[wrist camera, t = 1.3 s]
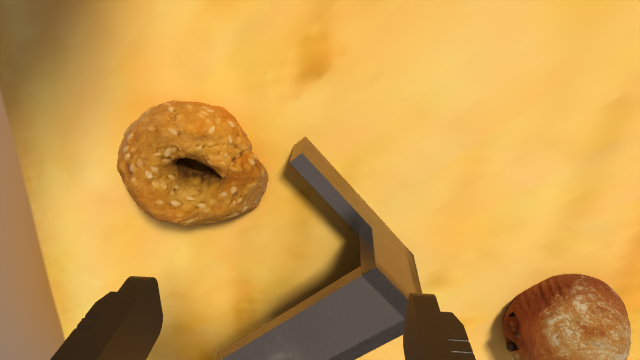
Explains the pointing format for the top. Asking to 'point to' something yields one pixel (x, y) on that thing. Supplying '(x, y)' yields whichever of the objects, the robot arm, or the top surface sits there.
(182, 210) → the bagel
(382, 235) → the metal dock
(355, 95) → the top surface
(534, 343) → the bread roll
